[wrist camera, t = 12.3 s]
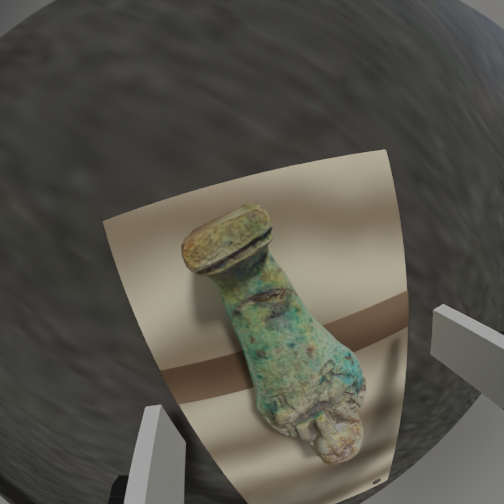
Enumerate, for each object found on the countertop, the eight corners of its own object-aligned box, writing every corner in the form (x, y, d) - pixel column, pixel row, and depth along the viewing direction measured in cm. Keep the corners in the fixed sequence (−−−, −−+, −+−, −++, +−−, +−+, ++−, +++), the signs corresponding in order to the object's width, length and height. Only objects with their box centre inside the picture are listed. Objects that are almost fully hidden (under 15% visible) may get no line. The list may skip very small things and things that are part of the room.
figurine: (303, 184, 12) (342, 178, 8) (358, 415, 15) (383, 452, 11) (184, 226, 11) (169, 238, 8) (283, 447, 15) (297, 489, 11)
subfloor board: (384, 475, 19) (387, 480, 18) (264, 517, 18) (265, 523, 17) (377, 151, 13) (386, 149, 12) (108, 219, 12) (101, 221, 11)
